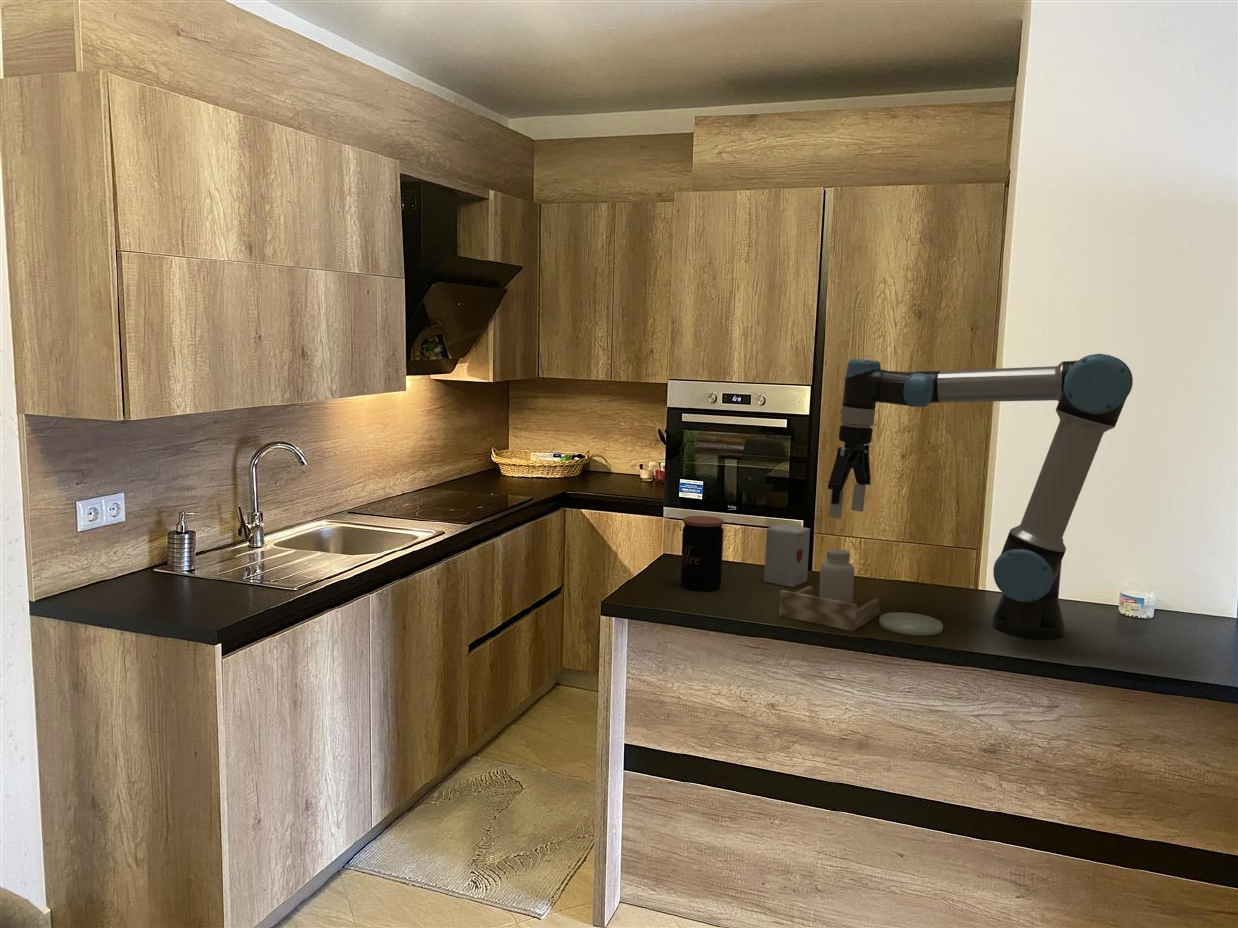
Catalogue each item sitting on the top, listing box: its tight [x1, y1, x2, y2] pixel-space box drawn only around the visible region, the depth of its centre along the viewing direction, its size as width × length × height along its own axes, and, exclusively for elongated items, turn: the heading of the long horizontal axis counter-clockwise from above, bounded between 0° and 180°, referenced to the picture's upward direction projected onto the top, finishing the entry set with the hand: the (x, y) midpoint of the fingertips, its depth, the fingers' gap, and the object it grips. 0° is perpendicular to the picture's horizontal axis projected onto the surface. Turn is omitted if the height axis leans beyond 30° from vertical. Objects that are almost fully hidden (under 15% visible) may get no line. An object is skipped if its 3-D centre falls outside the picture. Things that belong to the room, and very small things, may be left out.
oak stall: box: [778, 585, 881, 632], centre depth 219 cm, size 18×16×6 cm
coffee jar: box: [680, 515, 725, 592], centre depth 241 cm, size 11×11×18 cm
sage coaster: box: [878, 611, 944, 637], centre depth 212 cm, size 14×14×1 cm
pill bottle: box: [818, 549, 855, 604], centre depth 221 cm, size 8×8×15 cm
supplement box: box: [763, 523, 811, 588], centre depth 249 cm, size 9×9×15 cm
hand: (846, 514), depth 219 cm, fingers open, 13 cm apart
